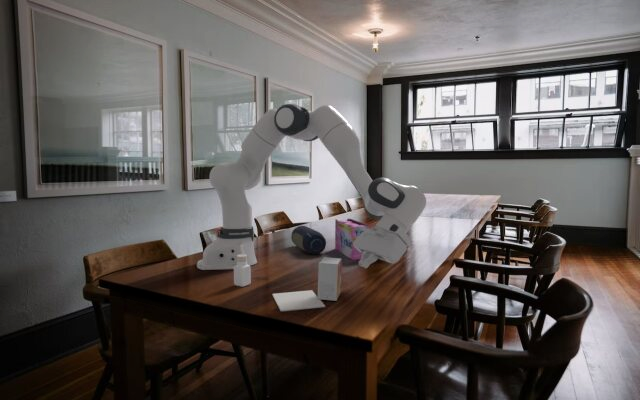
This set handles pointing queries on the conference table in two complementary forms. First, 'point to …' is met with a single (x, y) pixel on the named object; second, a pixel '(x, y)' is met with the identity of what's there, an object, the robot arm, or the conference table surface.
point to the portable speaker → (308, 240)
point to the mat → (297, 300)
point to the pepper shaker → (242, 271)
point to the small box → (329, 278)
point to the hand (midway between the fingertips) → (362, 266)
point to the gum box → (348, 237)
